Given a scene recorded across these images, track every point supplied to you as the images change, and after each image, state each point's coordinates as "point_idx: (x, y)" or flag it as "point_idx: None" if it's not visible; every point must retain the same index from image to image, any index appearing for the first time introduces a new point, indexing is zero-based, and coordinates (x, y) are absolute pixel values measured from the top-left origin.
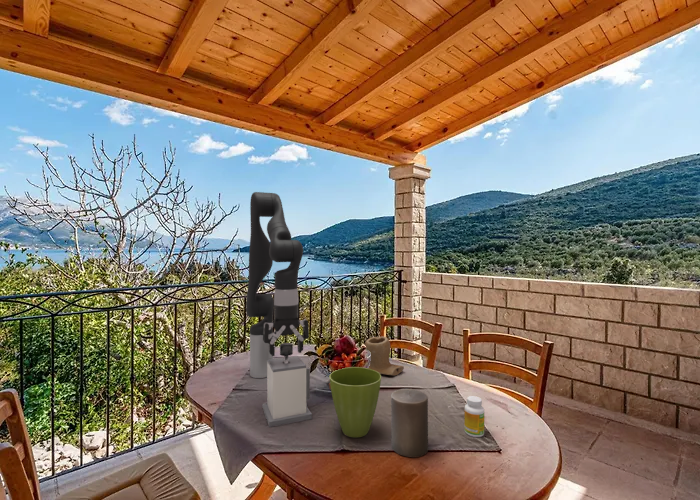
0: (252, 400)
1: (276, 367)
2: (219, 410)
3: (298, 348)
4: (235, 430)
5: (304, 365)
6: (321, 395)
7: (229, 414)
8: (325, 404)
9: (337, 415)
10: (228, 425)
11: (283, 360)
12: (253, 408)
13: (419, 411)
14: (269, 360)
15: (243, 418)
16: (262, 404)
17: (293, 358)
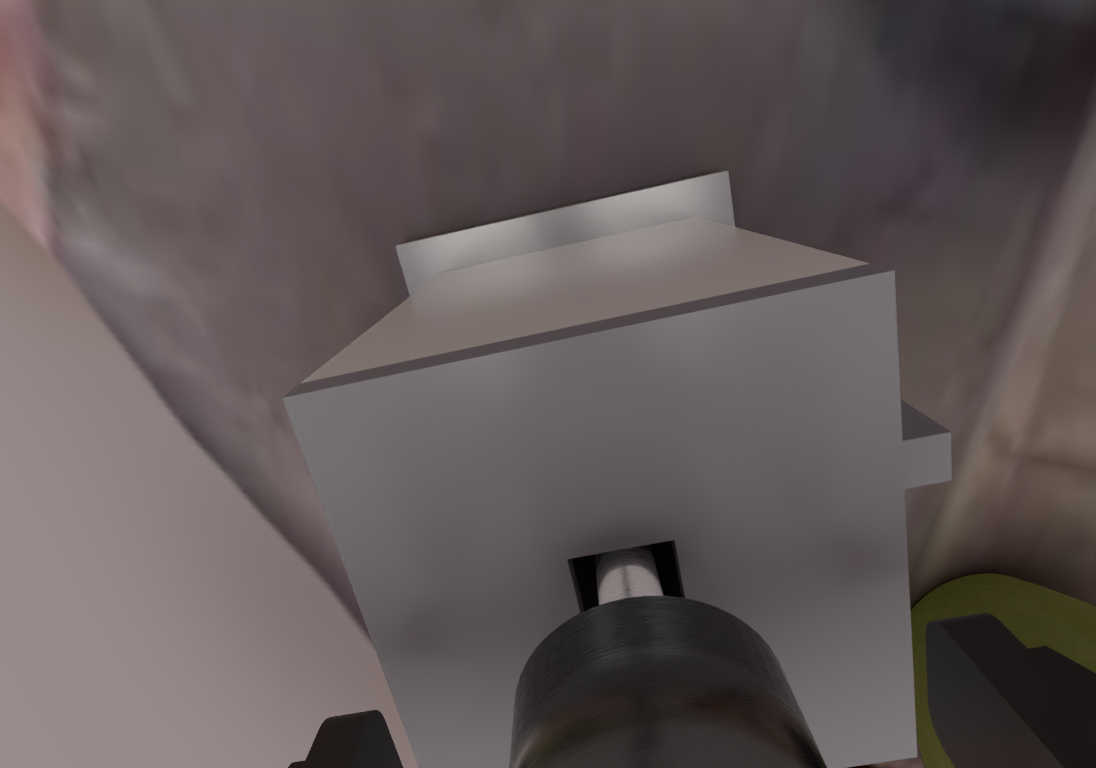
0: (293, 57)
1: (480, 764)
2: (74, 213)
3: (984, 746)
4: (283, 513)
5: (889, 760)
6: (924, 60)
7: (176, 296)
8: (905, 259)
9: (919, 739)
10: (221, 448)
11: (584, 495)
12: (334, 226)
13: None
14: (330, 451)
15: (294, 374)
16: (397, 252)
17: (775, 421)
